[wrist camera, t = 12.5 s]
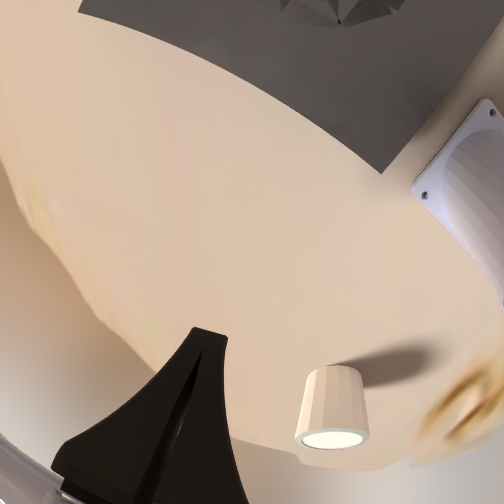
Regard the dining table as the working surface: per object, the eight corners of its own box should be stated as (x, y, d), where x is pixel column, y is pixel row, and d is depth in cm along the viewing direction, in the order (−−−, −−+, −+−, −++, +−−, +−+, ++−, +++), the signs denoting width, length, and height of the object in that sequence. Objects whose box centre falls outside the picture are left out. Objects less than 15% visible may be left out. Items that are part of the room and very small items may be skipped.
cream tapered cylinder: (287, 377, 28) (278, 439, 23) (341, 352, 25) (341, 422, 19) (328, 400, 30) (325, 455, 25) (379, 379, 27) (383, 440, 21)
